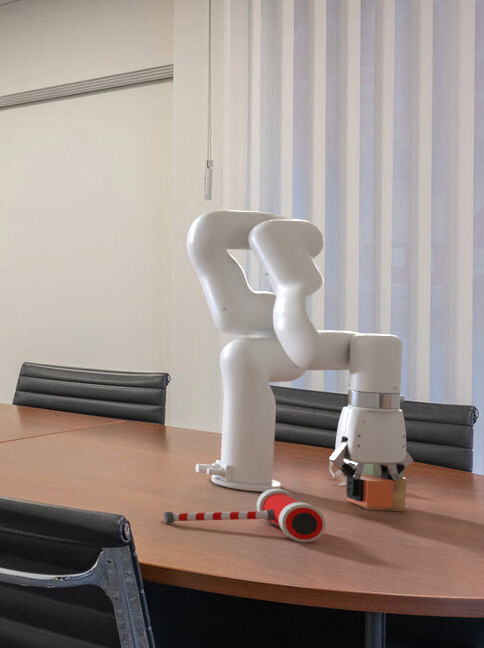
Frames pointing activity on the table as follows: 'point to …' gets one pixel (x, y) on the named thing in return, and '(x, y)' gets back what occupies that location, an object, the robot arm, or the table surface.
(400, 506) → the base block
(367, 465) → the middle block
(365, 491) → the top block
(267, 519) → the toy hammer
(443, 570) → the table surface
